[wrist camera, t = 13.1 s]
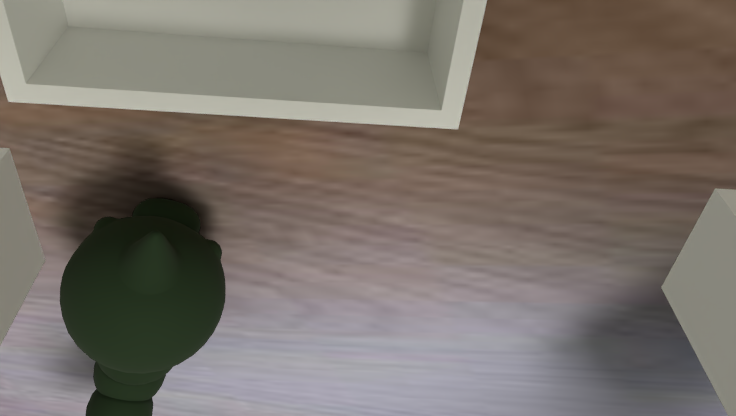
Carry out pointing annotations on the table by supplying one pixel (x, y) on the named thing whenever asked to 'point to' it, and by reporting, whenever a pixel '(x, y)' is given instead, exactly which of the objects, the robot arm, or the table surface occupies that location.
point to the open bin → (246, 57)
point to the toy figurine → (141, 301)
